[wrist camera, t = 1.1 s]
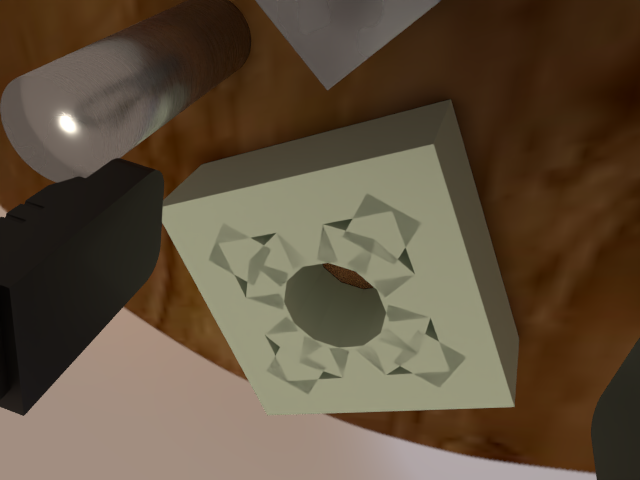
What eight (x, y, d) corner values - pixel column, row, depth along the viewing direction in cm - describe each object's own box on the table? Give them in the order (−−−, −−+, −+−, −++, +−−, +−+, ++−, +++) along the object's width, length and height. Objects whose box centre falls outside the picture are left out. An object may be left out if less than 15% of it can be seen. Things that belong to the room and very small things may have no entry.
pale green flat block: (450, 99, 28) (433, 143, 24) (519, 338, 33) (514, 406, 29) (201, 164, 34) (154, 208, 30) (296, 356, 40) (267, 415, 36)
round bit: (230, -18, 28) (60, 59, 18) (263, 62, 29) (123, 172, 20) (165, 9, 29) (-21, 93, 20) (199, 83, 31) (42, 194, 22)
